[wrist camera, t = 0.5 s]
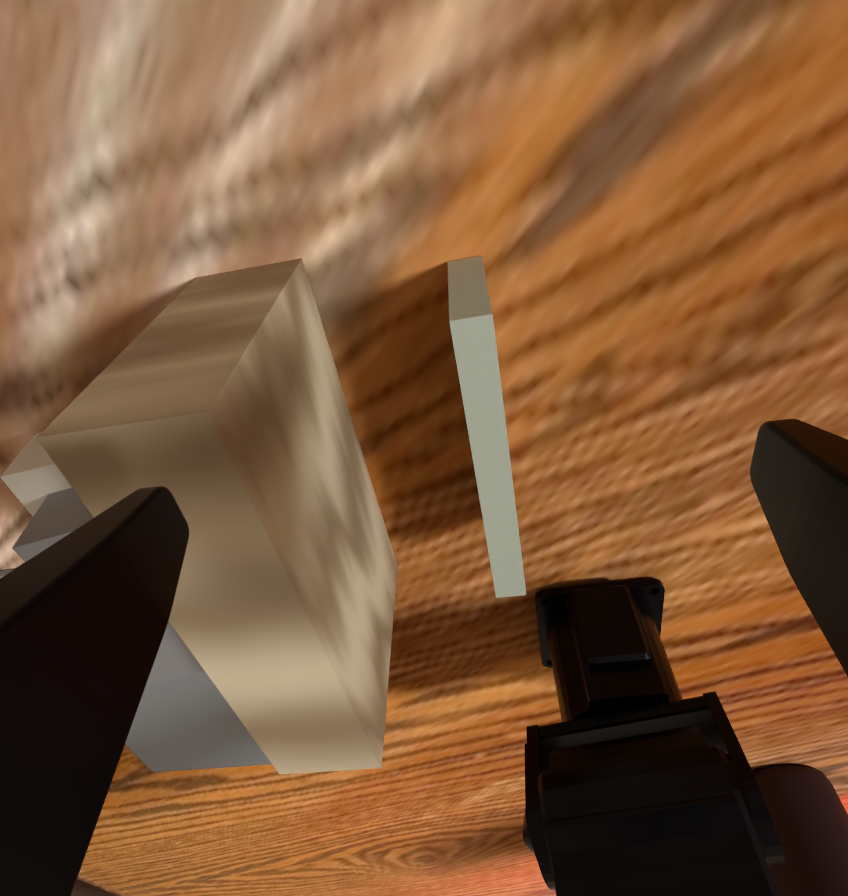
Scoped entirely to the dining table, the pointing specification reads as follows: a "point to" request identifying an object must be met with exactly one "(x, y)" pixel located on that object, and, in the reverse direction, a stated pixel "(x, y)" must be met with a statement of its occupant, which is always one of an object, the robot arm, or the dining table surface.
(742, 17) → the dining table surface
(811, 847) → the wine bottle
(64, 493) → the offcut upper
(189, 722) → the mat
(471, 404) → the panel
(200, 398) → the beige brown block
